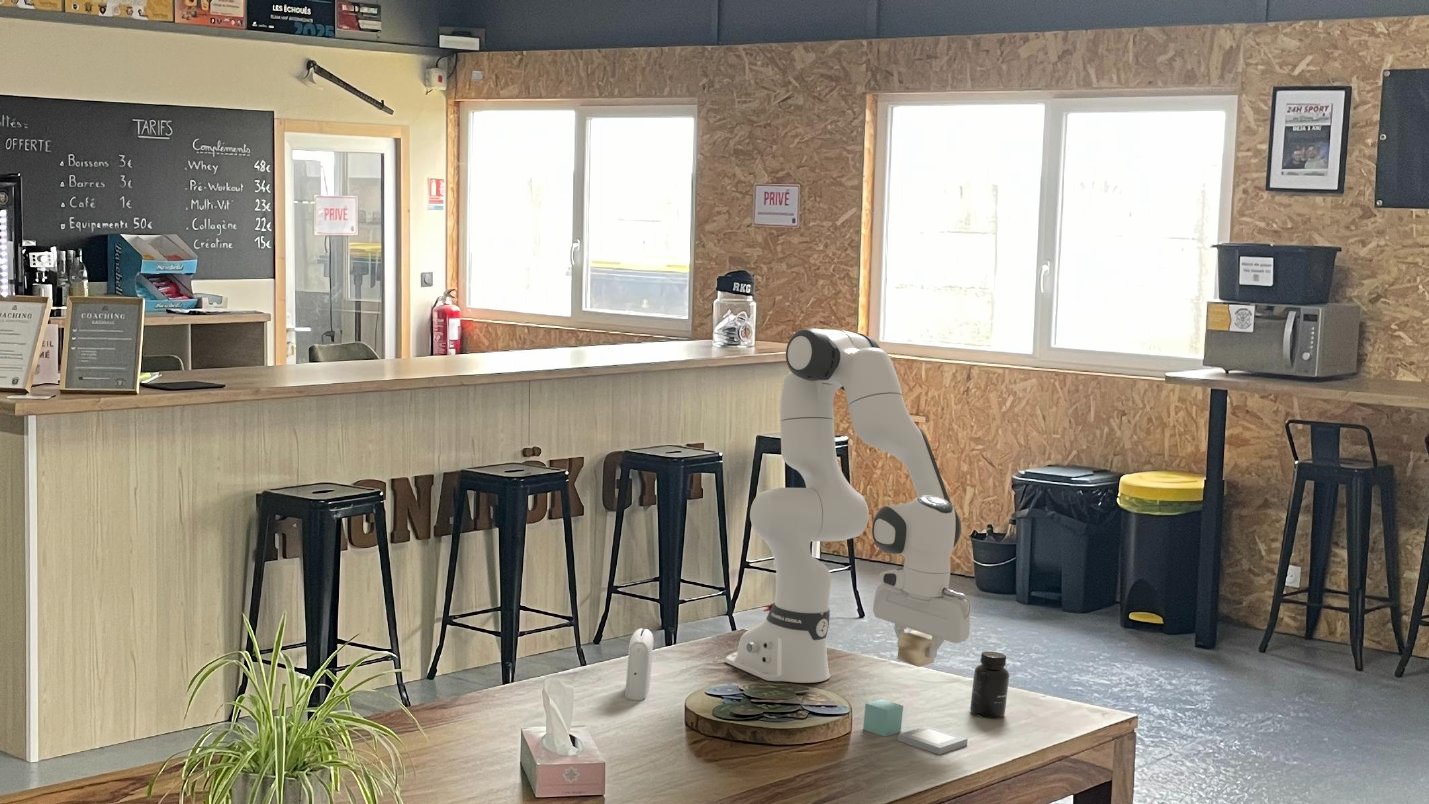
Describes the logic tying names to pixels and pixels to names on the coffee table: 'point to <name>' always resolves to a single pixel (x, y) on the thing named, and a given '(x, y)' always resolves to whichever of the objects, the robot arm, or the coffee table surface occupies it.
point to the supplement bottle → (990, 686)
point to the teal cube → (883, 717)
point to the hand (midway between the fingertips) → (916, 652)
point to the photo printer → (639, 664)
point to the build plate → (933, 739)
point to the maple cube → (914, 648)
